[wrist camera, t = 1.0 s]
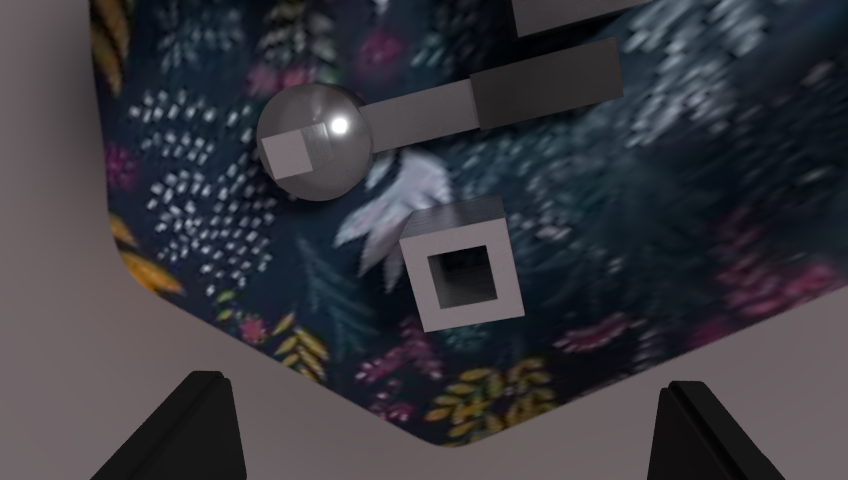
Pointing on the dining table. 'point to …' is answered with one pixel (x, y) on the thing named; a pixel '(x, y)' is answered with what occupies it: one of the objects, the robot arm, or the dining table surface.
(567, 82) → the ball knob lever
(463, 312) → the socket
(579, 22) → the grey square hollow block
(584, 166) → the dining table surface
